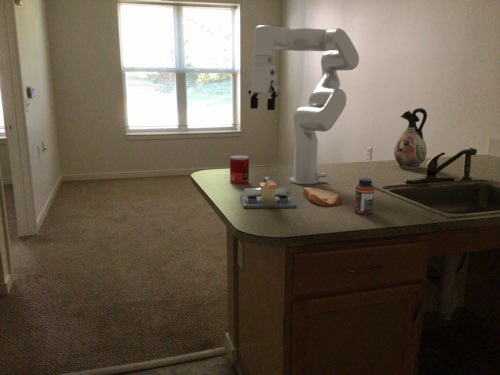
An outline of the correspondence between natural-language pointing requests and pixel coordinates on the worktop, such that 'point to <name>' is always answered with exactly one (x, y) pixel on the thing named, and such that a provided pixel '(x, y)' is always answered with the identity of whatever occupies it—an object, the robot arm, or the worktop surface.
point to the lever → (269, 182)
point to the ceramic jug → (411, 142)
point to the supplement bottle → (364, 196)
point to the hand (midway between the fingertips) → (262, 109)
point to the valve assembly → (267, 197)
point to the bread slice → (322, 197)
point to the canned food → (239, 169)
